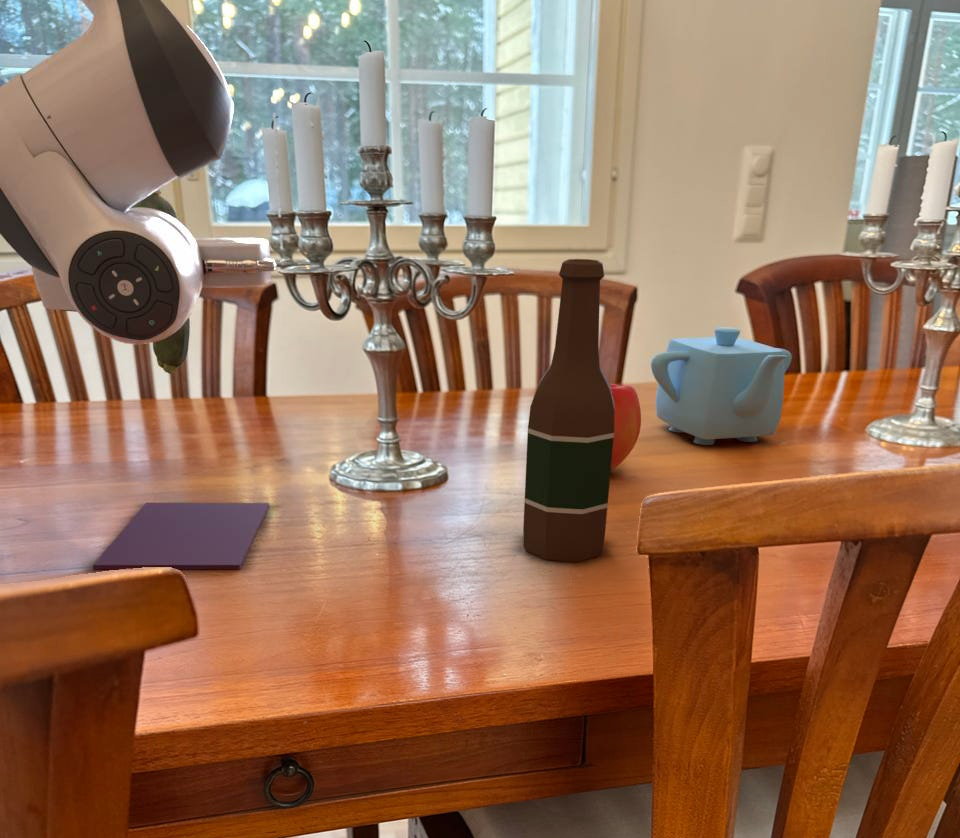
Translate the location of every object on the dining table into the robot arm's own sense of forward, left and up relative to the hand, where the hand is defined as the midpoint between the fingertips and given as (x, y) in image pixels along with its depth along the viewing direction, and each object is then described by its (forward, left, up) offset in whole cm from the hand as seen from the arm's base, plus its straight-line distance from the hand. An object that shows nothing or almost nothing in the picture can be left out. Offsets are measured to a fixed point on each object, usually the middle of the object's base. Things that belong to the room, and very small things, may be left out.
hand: (161, 255), depth 85 cm
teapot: (+63, +20, -23) cm, 70 cm away
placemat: (+3, -16, -22) cm, 28 cm away
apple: (+44, +5, -23) cm, 50 cm away
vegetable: (0, -1, -11) cm, 11 cm away
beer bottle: (+37, -19, -23) cm, 48 cm away
